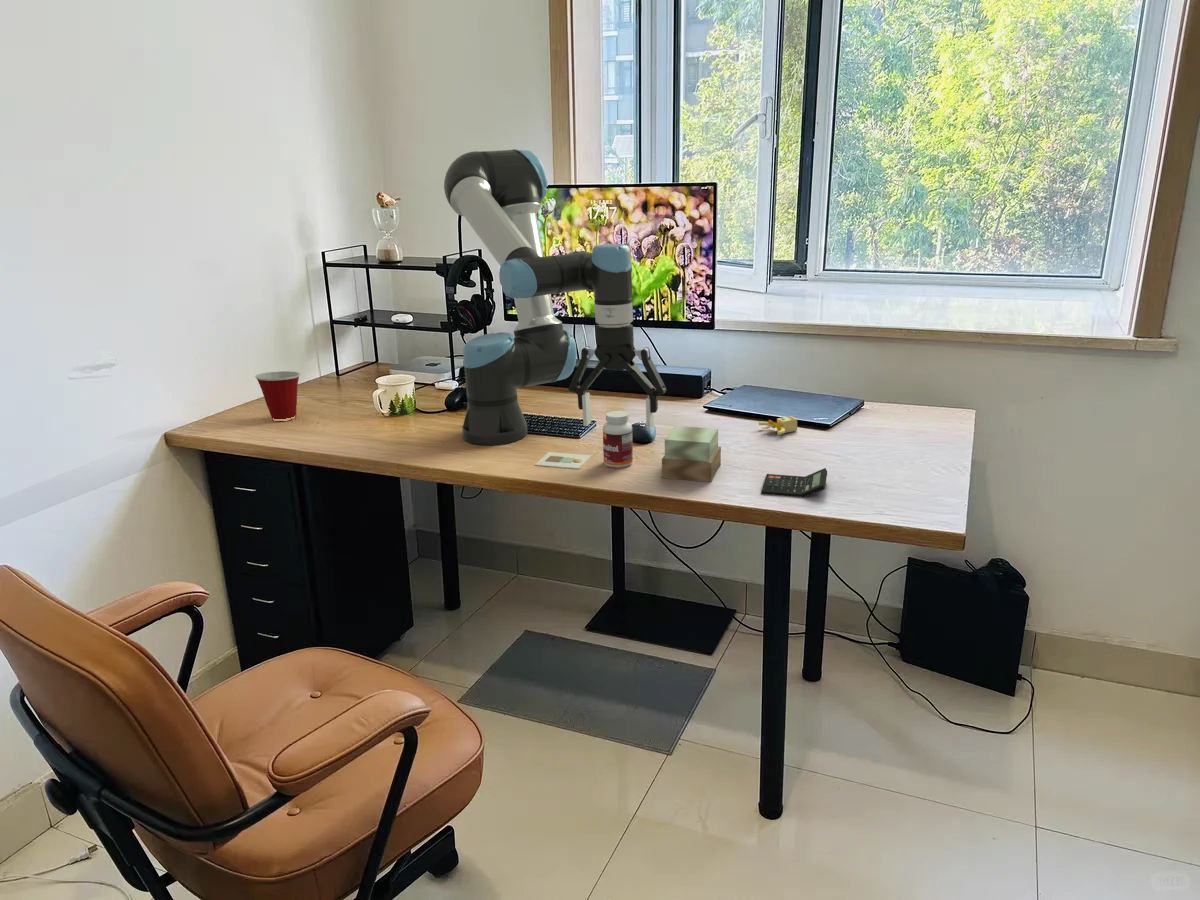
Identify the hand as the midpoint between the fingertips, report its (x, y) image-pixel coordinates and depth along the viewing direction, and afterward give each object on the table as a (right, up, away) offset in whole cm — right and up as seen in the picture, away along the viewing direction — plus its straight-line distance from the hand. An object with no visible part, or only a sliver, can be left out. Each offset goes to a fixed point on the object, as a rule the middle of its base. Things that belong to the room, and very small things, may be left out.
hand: (618, 426), depth 177 cm
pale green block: (+15, -9, -3) cm, 18 cm away
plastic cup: (-85, +3, +44) cm, 96 cm away
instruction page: (-12, -7, +6) cm, 15 cm away
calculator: (+34, -13, -12) cm, 38 cm away
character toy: (+36, -1, +20) cm, 42 cm away
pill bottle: (0, -8, +3) cm, 9 cm away
